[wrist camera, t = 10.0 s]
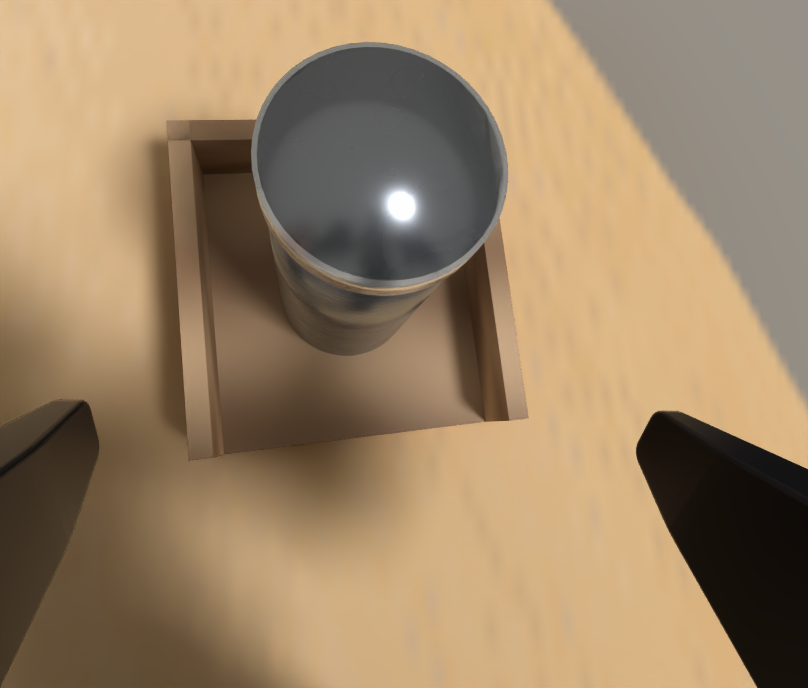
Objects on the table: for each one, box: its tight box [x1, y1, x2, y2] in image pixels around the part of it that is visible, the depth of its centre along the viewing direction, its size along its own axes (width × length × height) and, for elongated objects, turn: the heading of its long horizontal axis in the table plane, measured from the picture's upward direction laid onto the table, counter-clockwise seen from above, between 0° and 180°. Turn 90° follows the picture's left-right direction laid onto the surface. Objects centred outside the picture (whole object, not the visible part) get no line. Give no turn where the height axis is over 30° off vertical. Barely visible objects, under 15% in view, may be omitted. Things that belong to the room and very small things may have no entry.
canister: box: [251, 42, 508, 356], centre depth 16 cm, size 5×5×10 cm
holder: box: [166, 120, 529, 461], centre depth 20 cm, size 11×11×4 cm
